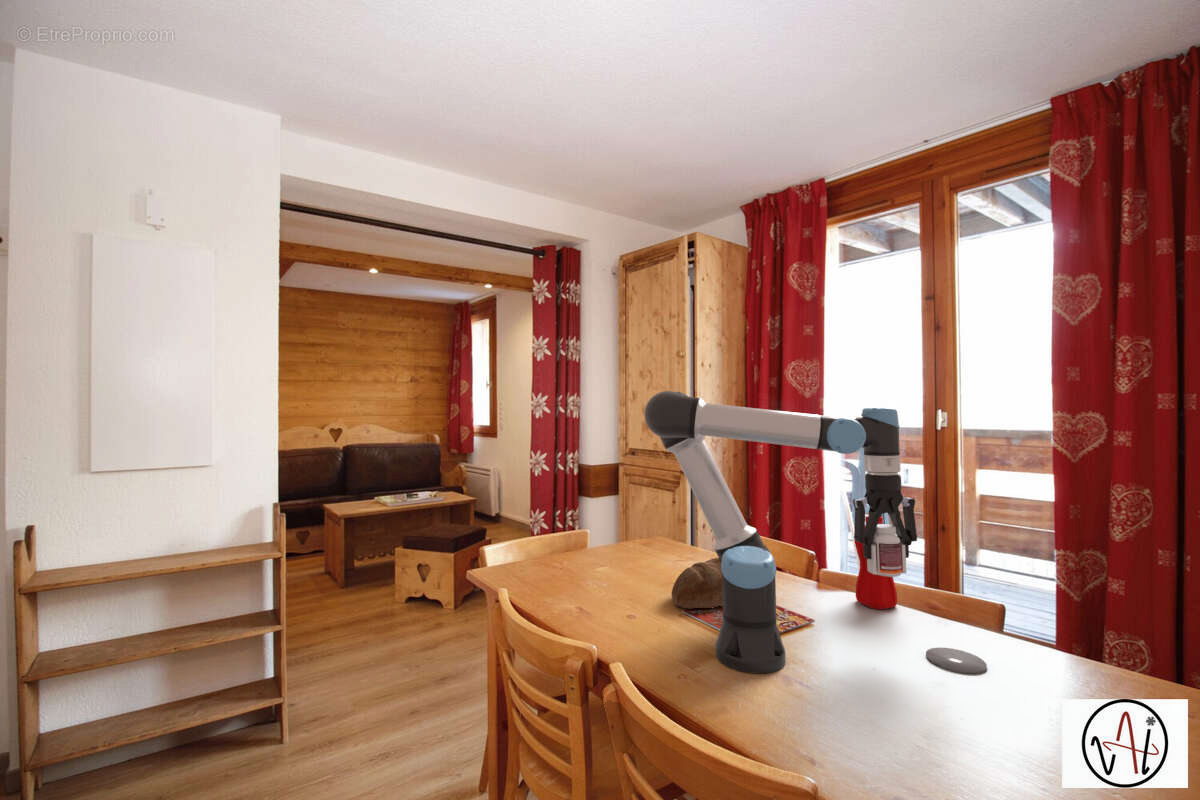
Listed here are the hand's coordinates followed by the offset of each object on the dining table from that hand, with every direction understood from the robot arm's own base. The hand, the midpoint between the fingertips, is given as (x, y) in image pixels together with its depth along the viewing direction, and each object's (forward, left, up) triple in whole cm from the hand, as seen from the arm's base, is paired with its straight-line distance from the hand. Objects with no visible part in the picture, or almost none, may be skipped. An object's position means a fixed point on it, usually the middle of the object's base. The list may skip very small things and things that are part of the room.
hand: (886, 571), depth 123 cm
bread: (-33, +34, -18) cm, 51 cm away
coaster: (+11, -7, -17) cm, 22 cm away
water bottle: (+11, +28, -18) cm, 34 cm away
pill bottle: (0, 0, -1) cm, 1 cm away
